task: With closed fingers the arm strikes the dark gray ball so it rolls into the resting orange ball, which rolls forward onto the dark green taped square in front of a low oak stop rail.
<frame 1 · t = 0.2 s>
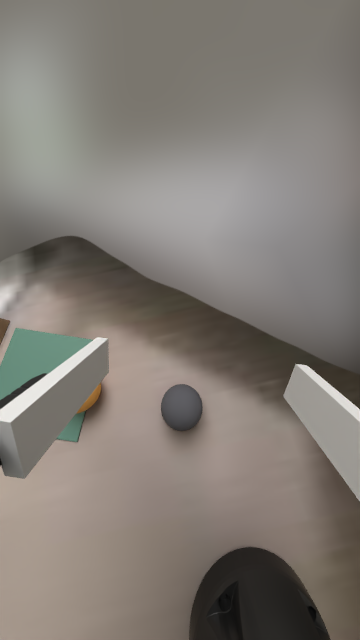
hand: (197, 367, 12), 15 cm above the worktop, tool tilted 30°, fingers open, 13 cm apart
dark gray ball: (181, 406, 22), on the worktop
object ball: (78, 390, 22), on the worktop
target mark: (45, 380, 25), on the worktop
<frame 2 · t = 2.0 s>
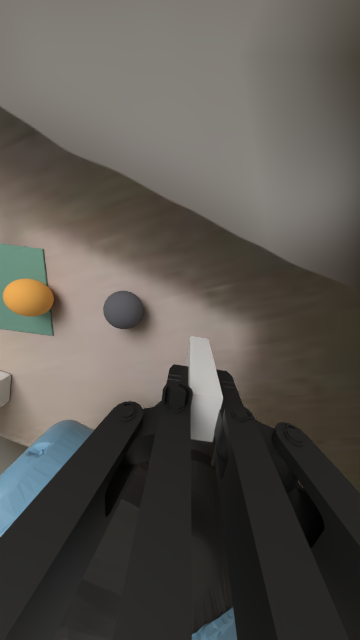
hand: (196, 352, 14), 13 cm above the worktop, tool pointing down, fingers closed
dark gray ball: (124, 310, 24), on the worktop
object ball: (30, 297, 24), on the worktop
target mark: (6, 290, 27), on the worktop
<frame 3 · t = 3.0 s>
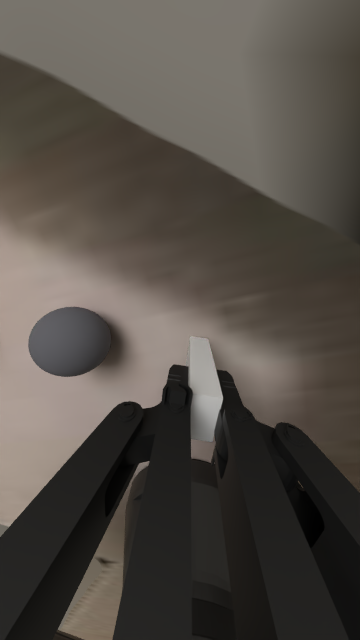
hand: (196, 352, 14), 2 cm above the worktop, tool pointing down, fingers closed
dark gray ball: (74, 340, 13), on the worktop
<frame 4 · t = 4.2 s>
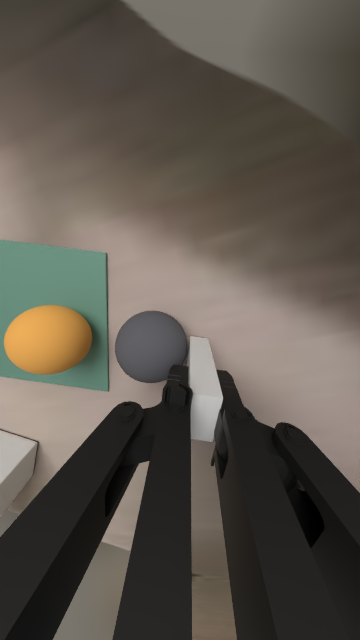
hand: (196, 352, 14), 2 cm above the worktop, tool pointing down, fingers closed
dark gray ball: (152, 345, 13), on the worktop
milk carton: (11, 448, 22), on the worktop
object ball: (53, 338, 13), on the worktop
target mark: (37, 321, 16), on the worktop
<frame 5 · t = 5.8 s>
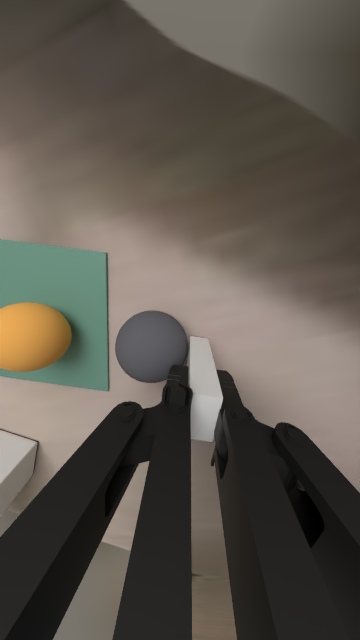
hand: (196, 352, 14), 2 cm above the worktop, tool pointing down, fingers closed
dark gray ball: (152, 345, 13), on the worktop
milk carton: (11, 448, 22), on the worktop
object ball: (31, 336, 13), on the worktop
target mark: (37, 321, 16), on the worktop
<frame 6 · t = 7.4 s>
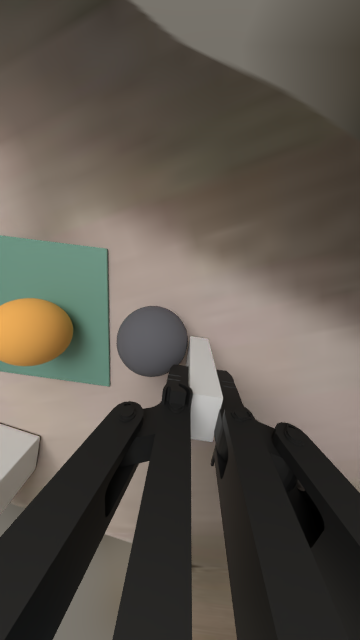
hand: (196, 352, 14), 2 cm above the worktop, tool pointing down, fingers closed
dark gray ball: (153, 340, 13), on the worktop
milk carton: (14, 442, 23), on the worktop
object ball: (33, 331, 14), on the worktop
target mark: (38, 317, 16), on the worktop
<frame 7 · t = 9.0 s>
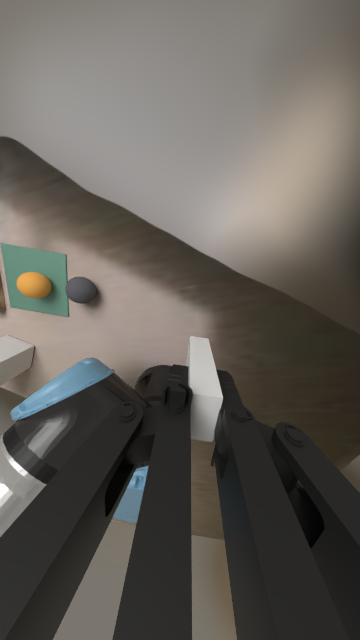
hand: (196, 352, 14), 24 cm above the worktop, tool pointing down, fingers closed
dark gray ball: (81, 290, 35), on the worktop
milk carton: (20, 350, 43), on the worktop
object ball: (34, 285, 35), on the worktop
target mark: (37, 282, 37), on the worktop
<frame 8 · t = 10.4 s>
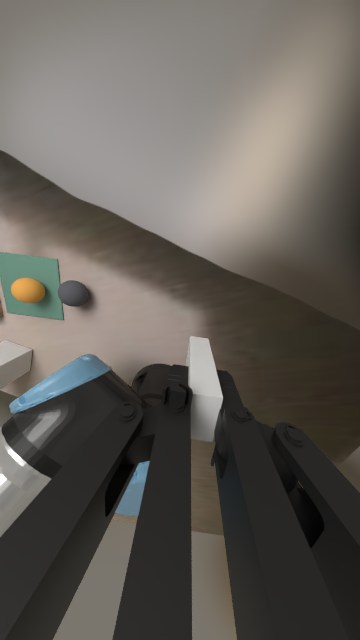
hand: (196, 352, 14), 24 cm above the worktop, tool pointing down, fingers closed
dark gray ball: (73, 293, 36), on the worktop
milk carton: (19, 355, 45), on the worktop
object ball: (28, 290, 36), on the worktop
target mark: (31, 287, 39), on the worktop
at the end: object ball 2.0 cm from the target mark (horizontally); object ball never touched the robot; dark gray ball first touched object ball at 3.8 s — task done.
